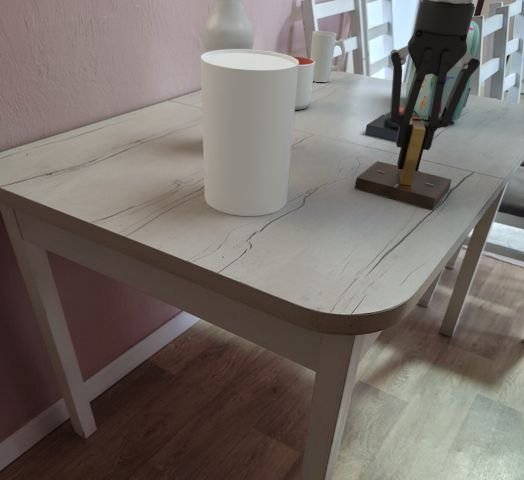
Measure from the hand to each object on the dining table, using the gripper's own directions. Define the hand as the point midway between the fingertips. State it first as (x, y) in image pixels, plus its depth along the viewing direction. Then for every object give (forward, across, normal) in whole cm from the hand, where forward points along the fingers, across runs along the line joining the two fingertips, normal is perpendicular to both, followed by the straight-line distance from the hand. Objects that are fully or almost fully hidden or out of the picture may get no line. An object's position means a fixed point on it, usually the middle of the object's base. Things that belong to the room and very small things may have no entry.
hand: (407, 167), depth 84 cm
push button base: (+4, -1, -31) cm, 31 cm away
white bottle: (+4, +34, -12) cm, 36 cm away
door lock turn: (+2, 0, 0) cm, 2 cm away
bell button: (0, -1, -31) cm, 31 cm away
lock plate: (+4, 0, 0) cm, 4 cm away
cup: (+4, +25, -46) cm, 53 cm away
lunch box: (+4, -11, -53) cm, 54 cm away
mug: (+4, +18, -76) cm, 78 cm away
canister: (+4, +26, +11) cm, 29 cm away
